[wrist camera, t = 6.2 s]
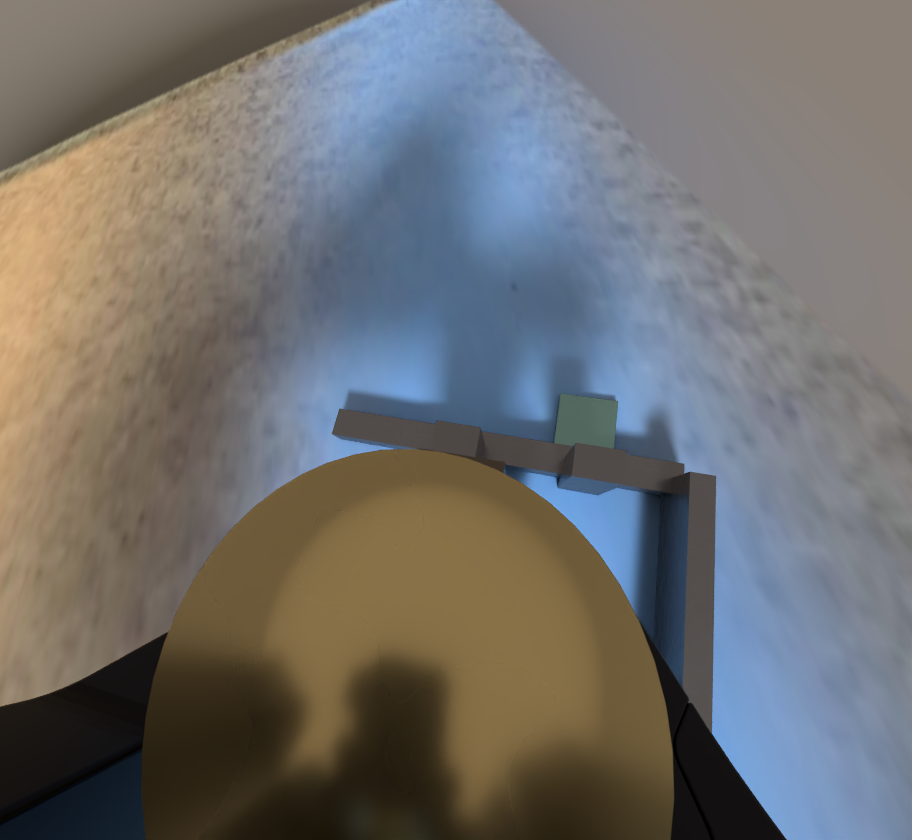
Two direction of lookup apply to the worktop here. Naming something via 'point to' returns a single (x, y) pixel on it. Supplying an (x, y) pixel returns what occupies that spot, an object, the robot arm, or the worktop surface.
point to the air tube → (406, 671)
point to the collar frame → (595, 472)
